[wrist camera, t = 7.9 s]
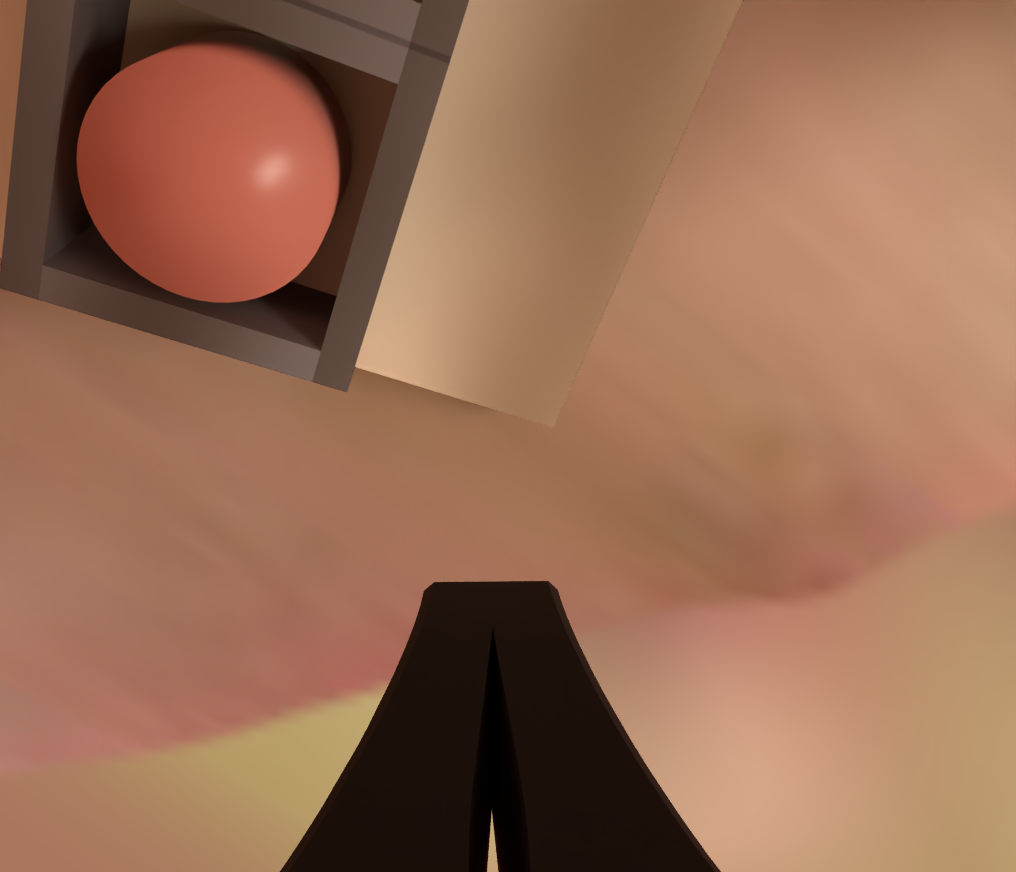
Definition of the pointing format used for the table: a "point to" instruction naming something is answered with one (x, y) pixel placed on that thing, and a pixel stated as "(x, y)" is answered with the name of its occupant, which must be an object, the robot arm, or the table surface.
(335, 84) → the button board
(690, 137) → the table surface
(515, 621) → the robot arm
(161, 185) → the brick button
